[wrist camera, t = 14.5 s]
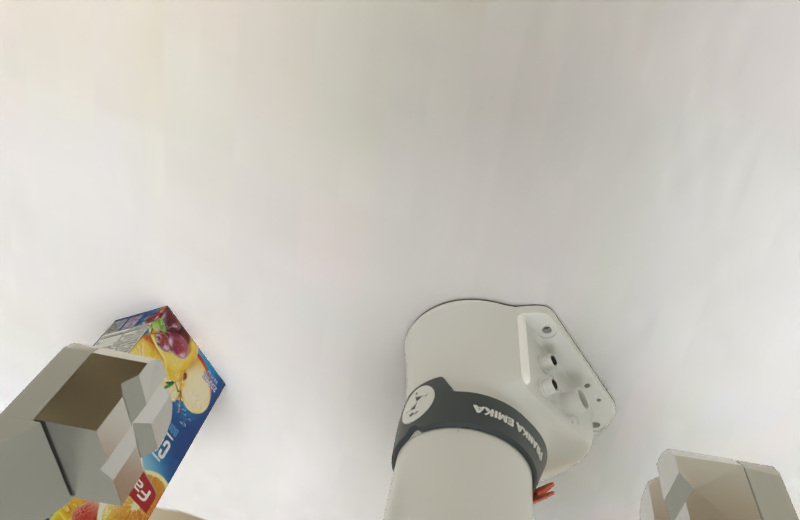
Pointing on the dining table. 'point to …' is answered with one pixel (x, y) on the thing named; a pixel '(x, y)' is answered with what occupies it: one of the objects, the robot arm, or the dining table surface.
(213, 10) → the dining table surface
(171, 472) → the juice carton
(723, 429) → the dining table surface
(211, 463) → the dining table surface
